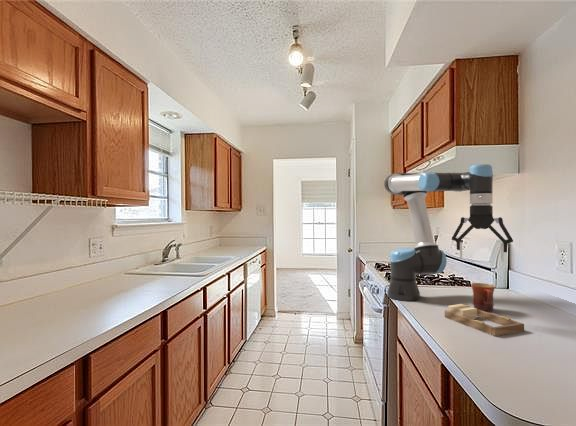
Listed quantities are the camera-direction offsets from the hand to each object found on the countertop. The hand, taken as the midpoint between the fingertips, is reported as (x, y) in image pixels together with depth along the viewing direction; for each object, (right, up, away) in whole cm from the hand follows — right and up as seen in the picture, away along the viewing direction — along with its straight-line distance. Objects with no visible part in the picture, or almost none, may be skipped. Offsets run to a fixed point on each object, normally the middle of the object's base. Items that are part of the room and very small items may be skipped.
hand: (481, 259), depth 123 cm
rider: (-7, -23, +1) cm, 24 cm away
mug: (+7, -23, +9) cm, 25 cm away
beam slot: (-4, -22, -6) cm, 24 cm away
